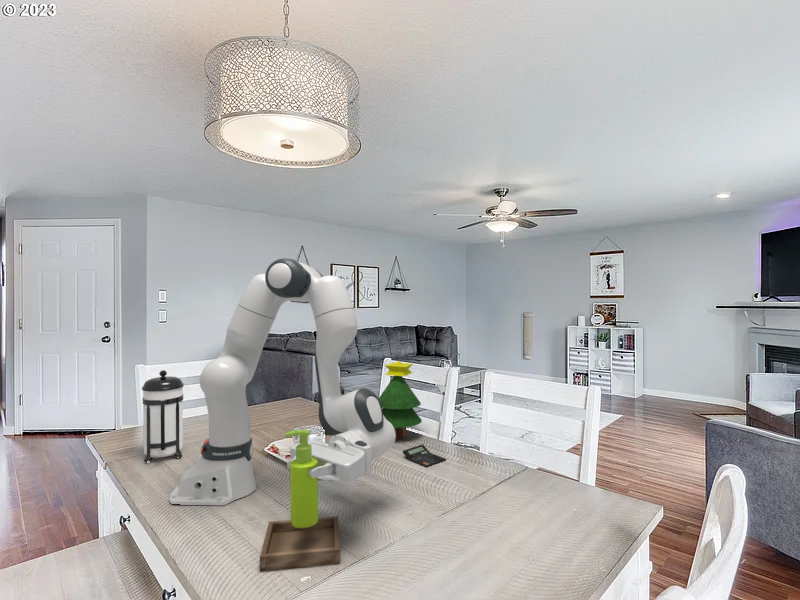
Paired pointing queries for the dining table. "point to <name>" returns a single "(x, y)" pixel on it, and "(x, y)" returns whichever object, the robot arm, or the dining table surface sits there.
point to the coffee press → (163, 416)
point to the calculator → (422, 456)
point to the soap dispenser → (303, 484)
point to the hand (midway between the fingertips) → (299, 469)
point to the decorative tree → (399, 400)
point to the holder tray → (300, 545)
